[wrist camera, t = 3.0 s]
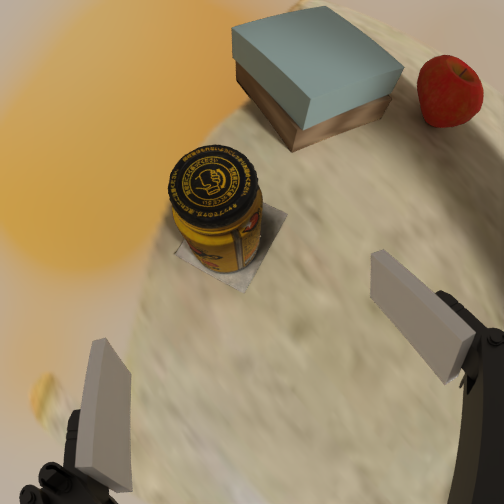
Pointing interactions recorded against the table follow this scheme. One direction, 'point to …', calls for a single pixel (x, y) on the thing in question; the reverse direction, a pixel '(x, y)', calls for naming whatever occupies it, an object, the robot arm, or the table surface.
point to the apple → (448, 92)
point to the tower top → (314, 63)
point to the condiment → (222, 214)
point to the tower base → (326, 129)
